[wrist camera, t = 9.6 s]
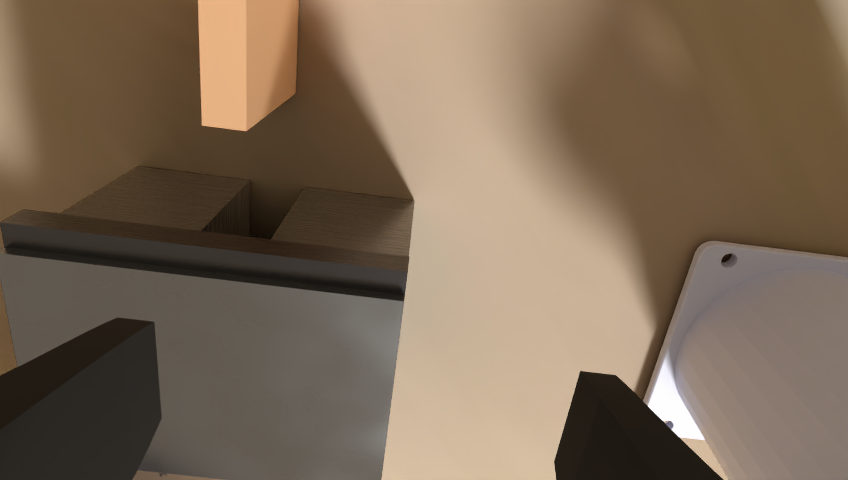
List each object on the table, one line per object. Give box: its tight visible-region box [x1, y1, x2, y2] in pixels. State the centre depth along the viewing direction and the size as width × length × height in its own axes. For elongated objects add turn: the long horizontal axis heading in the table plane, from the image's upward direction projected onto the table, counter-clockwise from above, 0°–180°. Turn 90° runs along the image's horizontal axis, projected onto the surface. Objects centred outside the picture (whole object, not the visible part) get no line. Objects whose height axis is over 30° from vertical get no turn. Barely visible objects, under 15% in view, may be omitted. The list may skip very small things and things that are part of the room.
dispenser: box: [0, 166, 414, 480], centre depth 17 cm, size 9×7×7 cm
